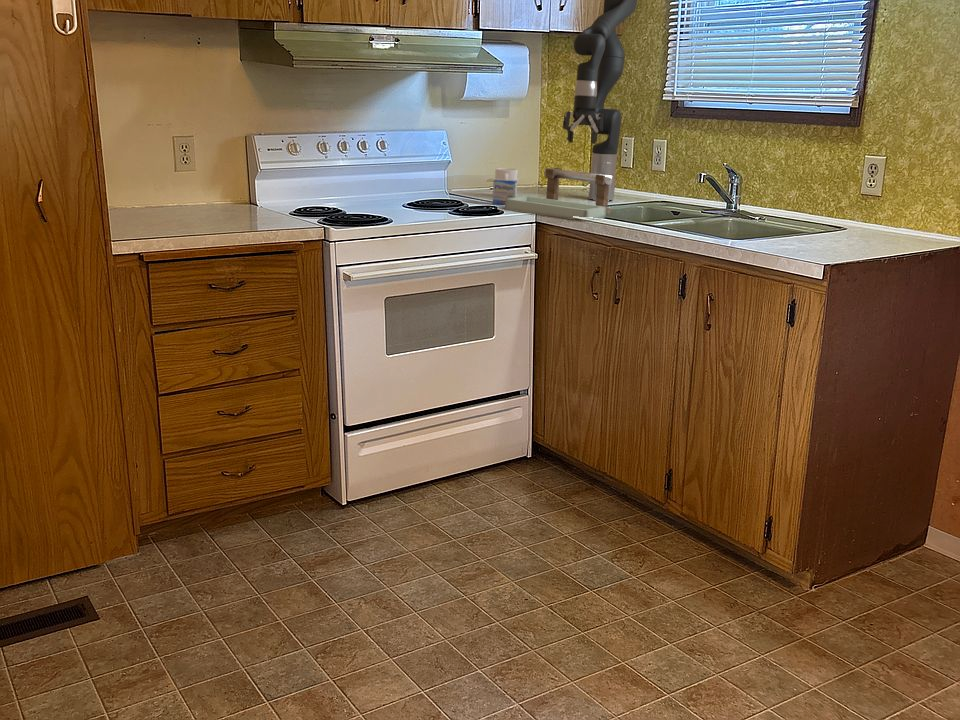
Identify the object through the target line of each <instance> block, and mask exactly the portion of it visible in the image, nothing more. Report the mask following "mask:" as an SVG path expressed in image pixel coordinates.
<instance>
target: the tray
mask: <svg viewBox="0 0 960 720" xmlns="http://www.w3.org/2000/svg"><path fill="white" fill-rule="evenodd" d="M504 210H508V211H514V212H521V213H528V214H533V215H541V216H546V217H547V216H548V217H555V218H562V219H568V220H570V219H569V217H573V216H579V217H593V218H600V219H605V218H606V217H607V216H606V215H607V214H606V207H604V206H596V204H588V203H587V204H586V203H581V202H574V201H566V200H559V199H558V200H553V199H546V198H544V197H537V196H531V195H523V196H516V197H515V198H508V199H505V205H504Z"/></svg>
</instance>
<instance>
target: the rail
mask: <svg viewBox="0 0 960 720" xmlns="http://www.w3.org/2000/svg"><path fill="white" fill-rule="evenodd" d="M546 169H552V167H546V168H545V169H544V171H543V172H544V173H543V174H544V176H545V175H546ZM553 169H554V168H553ZM560 169H561V168H560ZM560 169H554V170H555V173H554V178H559V179H563V180H569V181H570V180H572V181H578V182H579V181H580V182H585V183H586V182H589V183H590V182H594V183H595V180H596V175H603V174H595V173H591V172H586V171H585V172H584V171H574V170H568V169H567V170H566V169H562V170H560ZM613 181H614V177H613V176H612V175H605V183H604V184H613Z"/></svg>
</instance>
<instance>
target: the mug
mask: <svg viewBox="0 0 960 720" xmlns="http://www.w3.org/2000/svg"><path fill="white" fill-rule="evenodd" d="M518 171H519V170H518V169H517V168H512V167H496V168H495V174H494V175H495V176H494V179H504V180H517V181H518V177H519V176H518V174H519V172H518ZM517 189H518V183H517V184H516V195H517V194H518V192H517V191H518V190H517Z"/></svg>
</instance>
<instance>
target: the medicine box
mask: <svg viewBox="0 0 960 720" xmlns="http://www.w3.org/2000/svg"><path fill="white" fill-rule="evenodd" d="M516 184H517V185H518V179H517V180H504V179H495V178H494V179H493V184H492V185H493V187H492V188H493V189H492V190H493V191H492V202H491V203H492V204H491V205H493V206H505V199H508V198H515V197H517V194H516Z"/></svg>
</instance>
